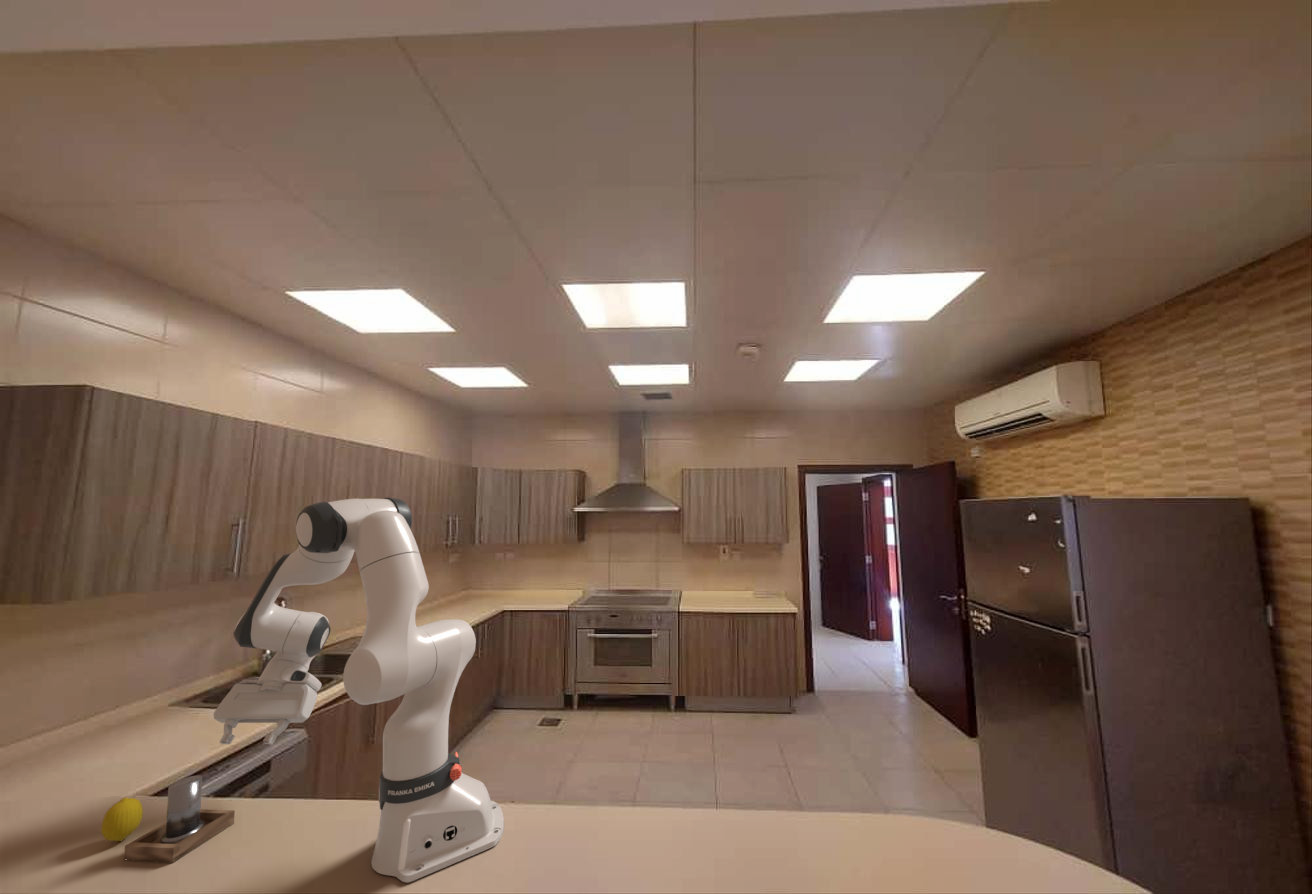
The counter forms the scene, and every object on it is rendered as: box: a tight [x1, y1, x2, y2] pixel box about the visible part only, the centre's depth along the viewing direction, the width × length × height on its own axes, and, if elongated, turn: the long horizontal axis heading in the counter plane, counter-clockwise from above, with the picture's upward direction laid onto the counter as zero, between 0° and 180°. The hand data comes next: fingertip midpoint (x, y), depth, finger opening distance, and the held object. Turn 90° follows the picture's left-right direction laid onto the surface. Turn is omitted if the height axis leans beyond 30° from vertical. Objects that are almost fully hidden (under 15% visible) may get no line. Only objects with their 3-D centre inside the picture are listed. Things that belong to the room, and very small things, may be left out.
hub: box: [161, 774, 204, 844], centre depth 95 cm, size 6×6×10 cm
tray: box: [123, 808, 235, 864], centre depth 94 cm, size 11×11×2 cm
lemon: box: [100, 797, 144, 842], centre depth 95 cm, size 6×6×8 cm
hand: (246, 743), depth 106 cm, fingers open, 8 cm apart
